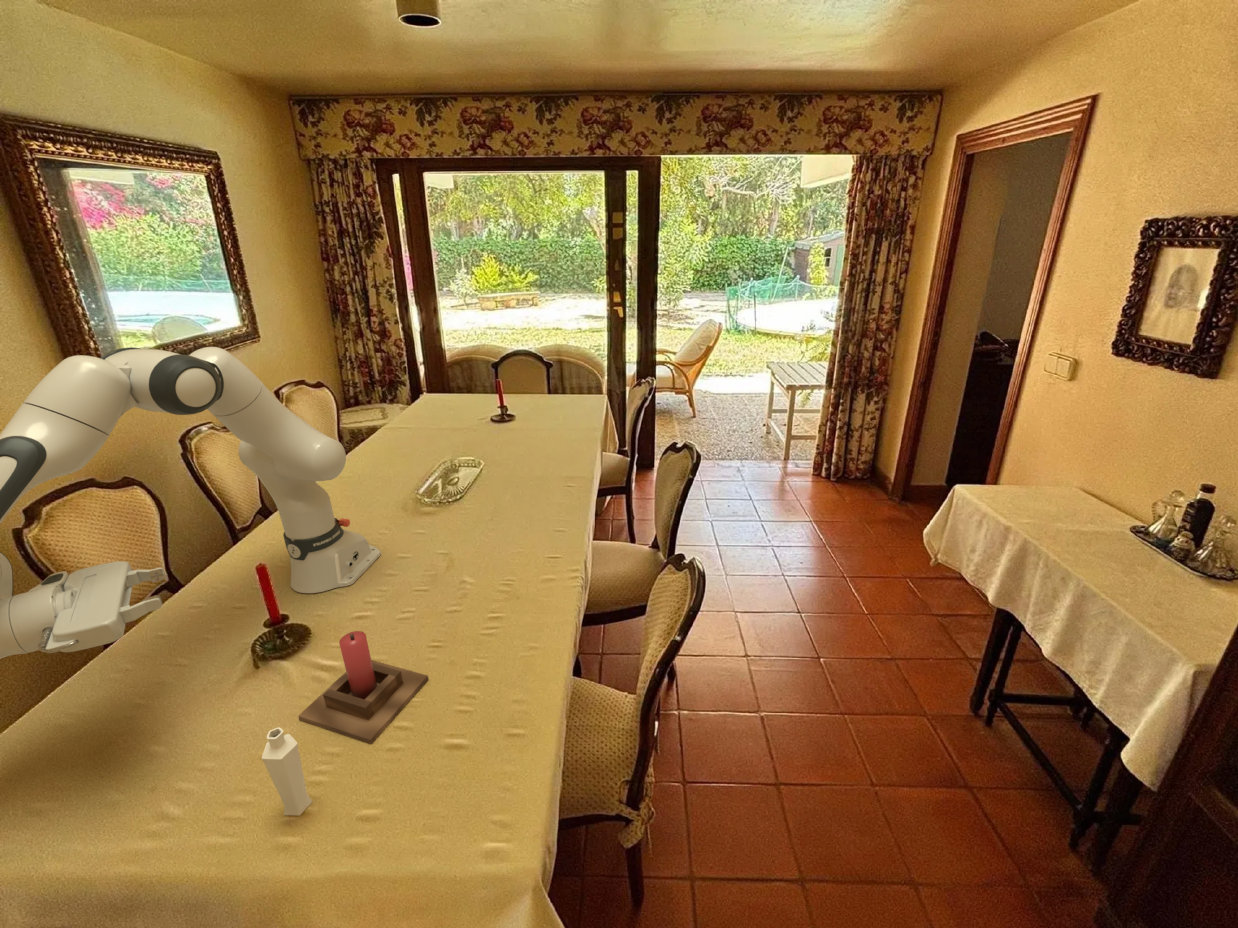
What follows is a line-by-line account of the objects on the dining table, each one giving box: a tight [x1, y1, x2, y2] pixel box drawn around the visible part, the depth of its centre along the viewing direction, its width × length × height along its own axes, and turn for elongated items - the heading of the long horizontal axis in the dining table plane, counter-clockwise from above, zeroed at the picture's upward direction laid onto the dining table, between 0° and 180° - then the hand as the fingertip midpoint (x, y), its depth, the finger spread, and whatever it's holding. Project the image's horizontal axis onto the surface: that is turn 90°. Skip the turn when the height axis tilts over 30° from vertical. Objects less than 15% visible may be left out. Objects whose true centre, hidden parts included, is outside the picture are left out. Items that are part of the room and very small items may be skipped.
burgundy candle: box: [338, 630, 377, 700], centre depth 106 cm, size 4×4×14 cm
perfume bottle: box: [261, 726, 313, 816], centre depth 86 cm, size 5×4×15 cm
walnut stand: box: [297, 659, 429, 745], centre depth 108 cm, size 16×16×4 cm
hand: (162, 586), depth 94 cm, fingers open, 8 cm apart
